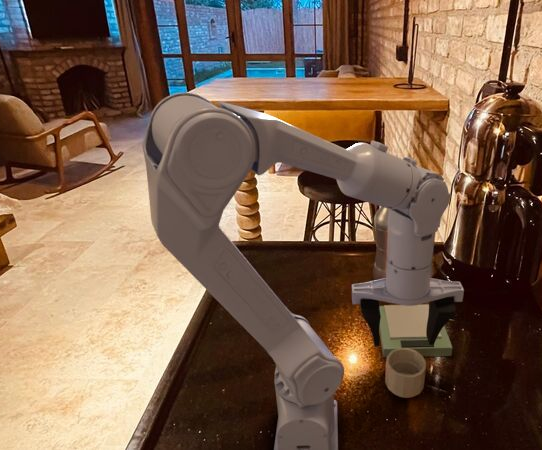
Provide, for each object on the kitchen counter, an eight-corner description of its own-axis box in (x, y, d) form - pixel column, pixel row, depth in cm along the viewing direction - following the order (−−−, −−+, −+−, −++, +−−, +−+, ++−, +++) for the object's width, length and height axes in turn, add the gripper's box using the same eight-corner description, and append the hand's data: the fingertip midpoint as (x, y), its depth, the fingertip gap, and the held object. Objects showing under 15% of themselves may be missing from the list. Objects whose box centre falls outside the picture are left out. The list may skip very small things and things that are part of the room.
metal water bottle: (404, 294, 80) (411, 201, 71) (370, 291, 81) (372, 199, 73) (406, 276, 86) (412, 188, 77) (374, 273, 87) (376, 186, 78)
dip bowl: (427, 399, 58) (430, 376, 56) (387, 400, 58) (388, 377, 56) (419, 369, 63) (422, 347, 61) (382, 370, 63) (383, 348, 61)
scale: (451, 356, 65) (453, 345, 64) (383, 357, 65) (383, 346, 64) (435, 312, 75) (436, 302, 74) (376, 313, 75) (376, 303, 74)
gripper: (457, 241, 55) (446, 320, 61) (350, 244, 55) (350, 323, 61) (473, 270, 49) (460, 354, 55) (353, 272, 49) (353, 357, 55)
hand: (403, 340), depth 58 cm, fingers open, 7 cm apart
